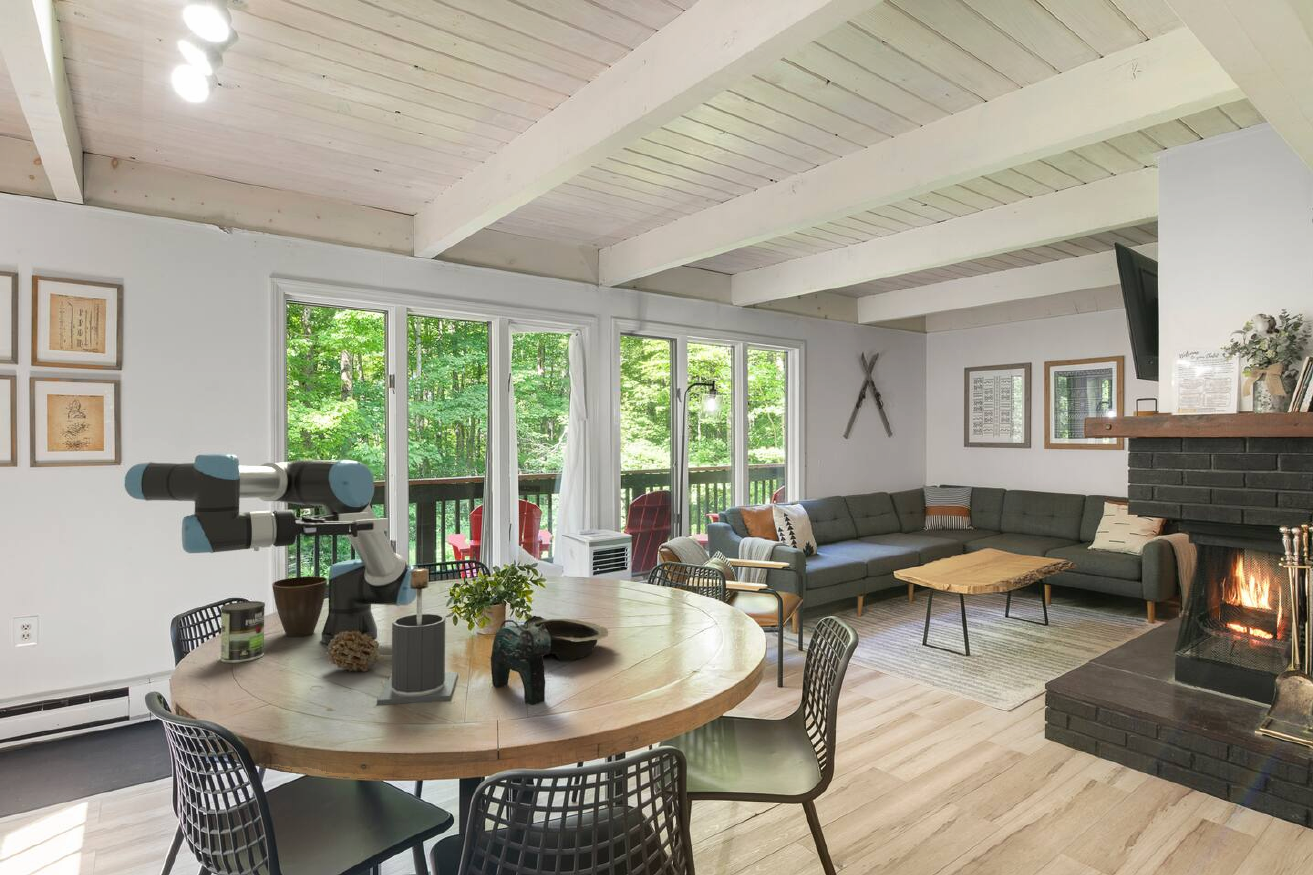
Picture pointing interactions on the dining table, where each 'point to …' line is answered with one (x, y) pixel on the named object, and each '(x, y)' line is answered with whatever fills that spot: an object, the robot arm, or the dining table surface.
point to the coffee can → (242, 631)
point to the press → (418, 662)
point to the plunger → (419, 588)
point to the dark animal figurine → (521, 658)
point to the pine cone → (354, 651)
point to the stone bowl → (569, 636)
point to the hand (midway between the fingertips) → (377, 521)
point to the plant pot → (299, 603)
